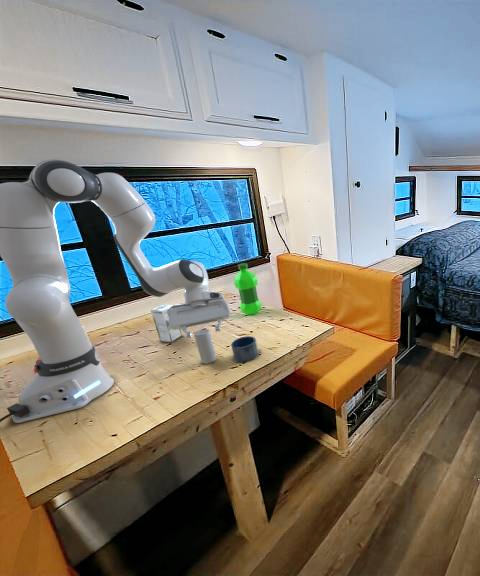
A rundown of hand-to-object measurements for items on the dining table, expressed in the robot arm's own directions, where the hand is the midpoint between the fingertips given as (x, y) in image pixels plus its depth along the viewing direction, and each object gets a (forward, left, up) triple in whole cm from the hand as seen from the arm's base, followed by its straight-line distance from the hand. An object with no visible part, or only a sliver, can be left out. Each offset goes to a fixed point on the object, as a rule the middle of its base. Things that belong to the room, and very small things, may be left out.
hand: (203, 334), depth 112 cm
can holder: (+11, -8, -9) cm, 17 cm away
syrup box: (-12, +26, -10) cm, 30 cm away
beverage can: (-1, -3, -10) cm, 10 cm away
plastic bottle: (+22, +32, -10) cm, 40 cm away
